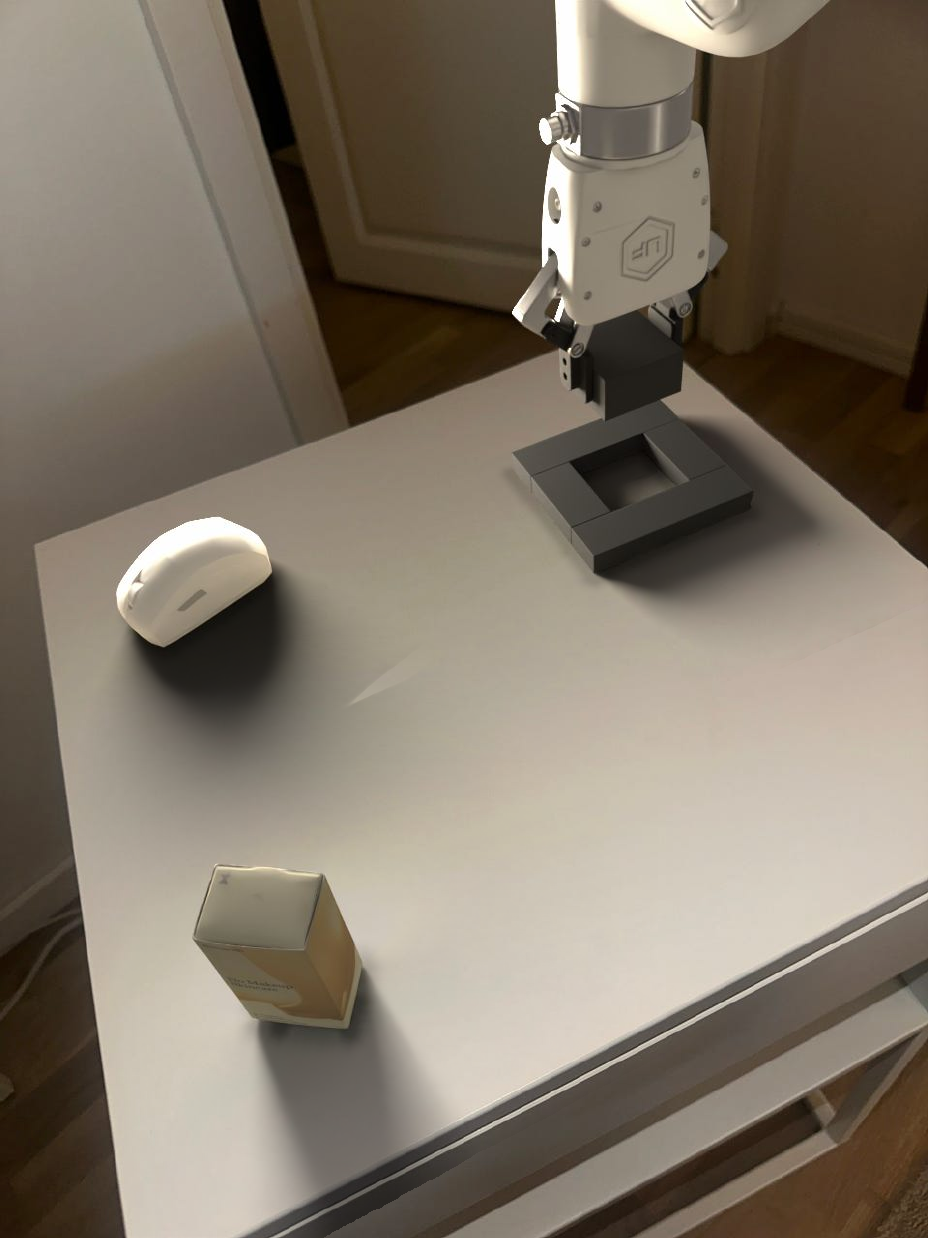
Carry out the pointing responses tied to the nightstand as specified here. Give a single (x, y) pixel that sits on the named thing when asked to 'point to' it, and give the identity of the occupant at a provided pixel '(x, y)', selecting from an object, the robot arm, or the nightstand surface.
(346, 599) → the nightstand surface
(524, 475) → the frame pad
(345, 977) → the cosmetic box
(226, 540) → the computer mouse
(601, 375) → the dark grey square block
